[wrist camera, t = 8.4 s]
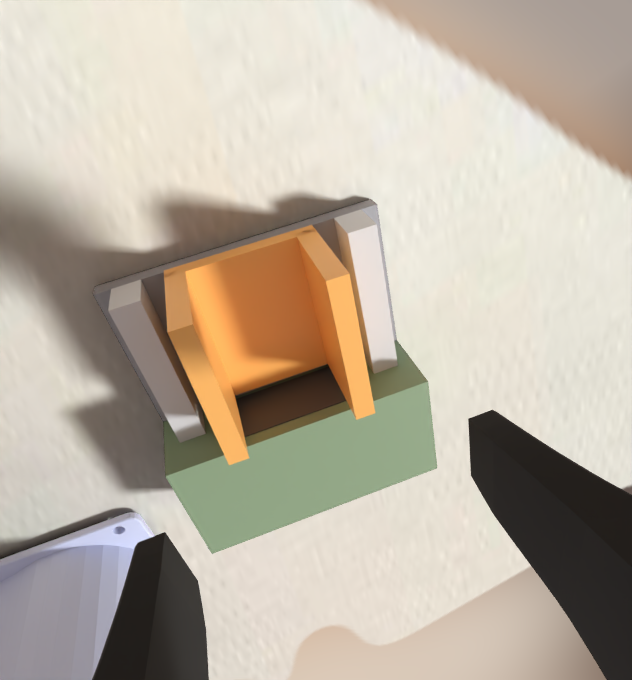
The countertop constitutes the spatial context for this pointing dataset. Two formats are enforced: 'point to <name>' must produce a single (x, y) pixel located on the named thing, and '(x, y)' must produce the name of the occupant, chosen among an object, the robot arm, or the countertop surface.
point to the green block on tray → (283, 403)
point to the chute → (264, 325)
